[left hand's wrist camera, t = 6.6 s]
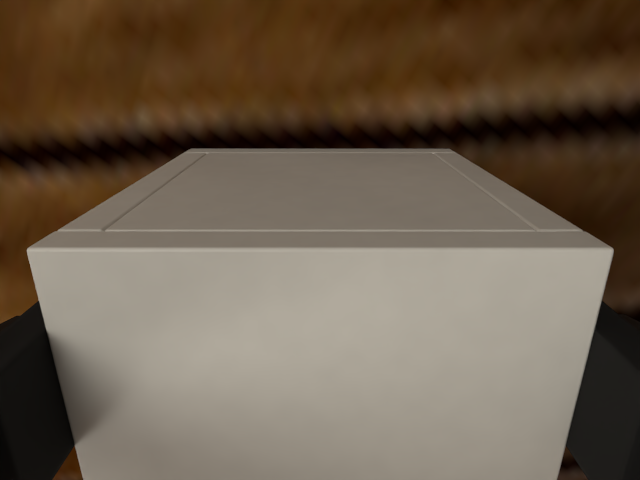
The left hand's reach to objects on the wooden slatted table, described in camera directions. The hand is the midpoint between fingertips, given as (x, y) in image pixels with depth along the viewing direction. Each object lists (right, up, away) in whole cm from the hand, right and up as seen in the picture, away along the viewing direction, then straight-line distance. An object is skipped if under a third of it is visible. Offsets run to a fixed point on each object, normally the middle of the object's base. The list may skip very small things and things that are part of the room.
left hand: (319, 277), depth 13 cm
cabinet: (0, -3, +7) cm, 8 cm away
